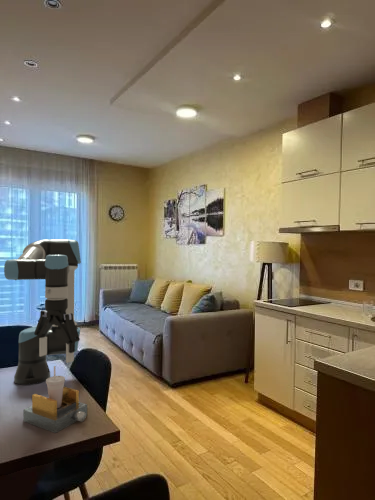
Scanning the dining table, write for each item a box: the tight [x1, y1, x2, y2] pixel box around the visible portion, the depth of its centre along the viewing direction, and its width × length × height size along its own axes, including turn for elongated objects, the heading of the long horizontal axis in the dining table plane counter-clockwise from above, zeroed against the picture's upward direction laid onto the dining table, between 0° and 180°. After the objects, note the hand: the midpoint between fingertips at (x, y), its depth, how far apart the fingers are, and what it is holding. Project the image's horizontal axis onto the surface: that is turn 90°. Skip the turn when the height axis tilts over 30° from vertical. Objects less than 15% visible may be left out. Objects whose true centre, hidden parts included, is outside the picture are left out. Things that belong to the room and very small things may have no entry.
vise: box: [22, 386, 88, 434], centre depth 124 cm, size 19×14×9 cm
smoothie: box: [45, 365, 66, 408], centre depth 124 cm, size 6×6×14 cm
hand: (56, 358), depth 124 cm, fingers open, 13 cm apart
